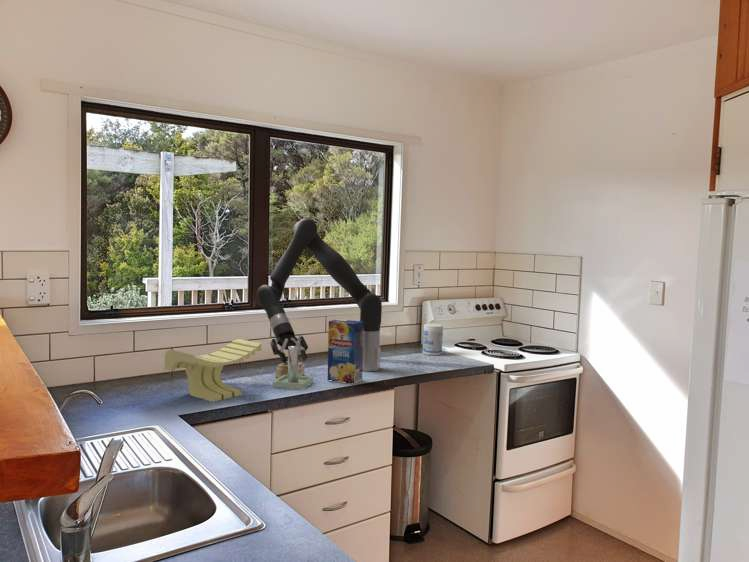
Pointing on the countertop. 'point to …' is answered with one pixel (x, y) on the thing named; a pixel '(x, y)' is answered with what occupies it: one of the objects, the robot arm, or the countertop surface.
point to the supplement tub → (432, 339)
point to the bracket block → (283, 369)
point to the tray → (284, 383)
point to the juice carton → (345, 350)
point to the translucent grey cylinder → (293, 363)
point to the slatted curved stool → (211, 368)
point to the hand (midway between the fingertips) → (295, 361)
